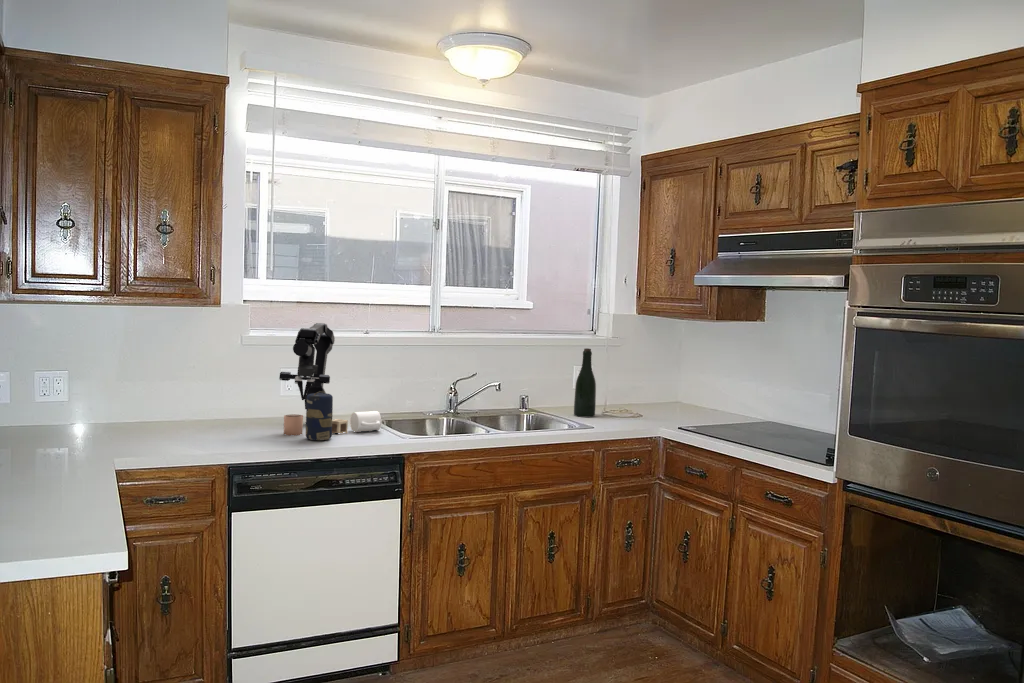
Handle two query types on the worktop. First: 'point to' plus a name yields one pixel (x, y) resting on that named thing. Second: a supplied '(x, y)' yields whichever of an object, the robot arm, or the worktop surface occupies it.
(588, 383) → the beer bottle
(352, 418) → the mug
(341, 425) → the letter cube
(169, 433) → the worktop surface
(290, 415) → the cup
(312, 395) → the canister
